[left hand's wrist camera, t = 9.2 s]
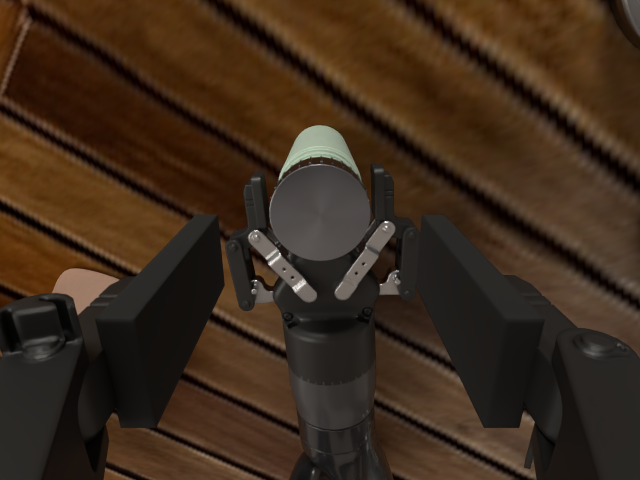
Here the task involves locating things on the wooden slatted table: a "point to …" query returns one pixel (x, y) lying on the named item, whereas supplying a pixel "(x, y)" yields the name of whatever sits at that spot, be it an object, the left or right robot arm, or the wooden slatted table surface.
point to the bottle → (319, 147)
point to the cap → (320, 209)
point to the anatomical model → (82, 286)
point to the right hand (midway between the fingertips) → (316, 169)
